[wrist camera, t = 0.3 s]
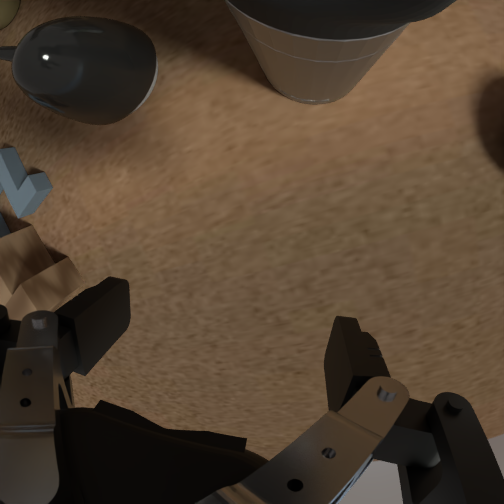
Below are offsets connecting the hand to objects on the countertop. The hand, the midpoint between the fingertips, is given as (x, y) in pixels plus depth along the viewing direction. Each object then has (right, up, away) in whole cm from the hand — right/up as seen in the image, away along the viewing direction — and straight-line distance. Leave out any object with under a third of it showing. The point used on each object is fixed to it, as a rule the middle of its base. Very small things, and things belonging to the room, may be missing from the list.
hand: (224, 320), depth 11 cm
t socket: (-33, +10, +22) cm, 41 cm away
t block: (-27, +1, +24) cm, 36 cm away
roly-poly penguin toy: (-12, +20, +15) cm, 28 cm away
